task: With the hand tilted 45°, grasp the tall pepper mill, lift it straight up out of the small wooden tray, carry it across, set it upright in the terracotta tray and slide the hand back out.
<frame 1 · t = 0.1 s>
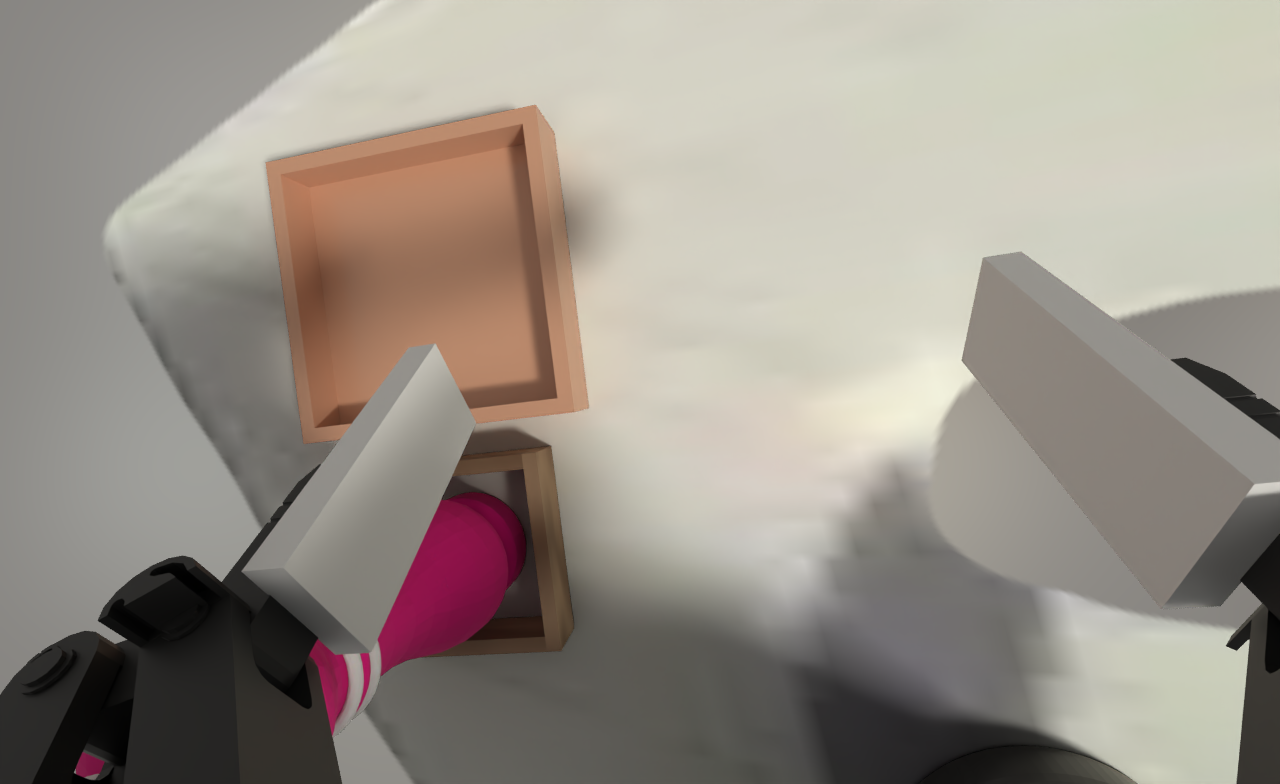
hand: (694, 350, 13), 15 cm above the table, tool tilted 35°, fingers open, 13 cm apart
small wooden tray: (476, 544, 30), on the table
pepper mill: (478, 542, 31), resting in small wooden tray
terracotta tray: (443, 291, 30), on the table
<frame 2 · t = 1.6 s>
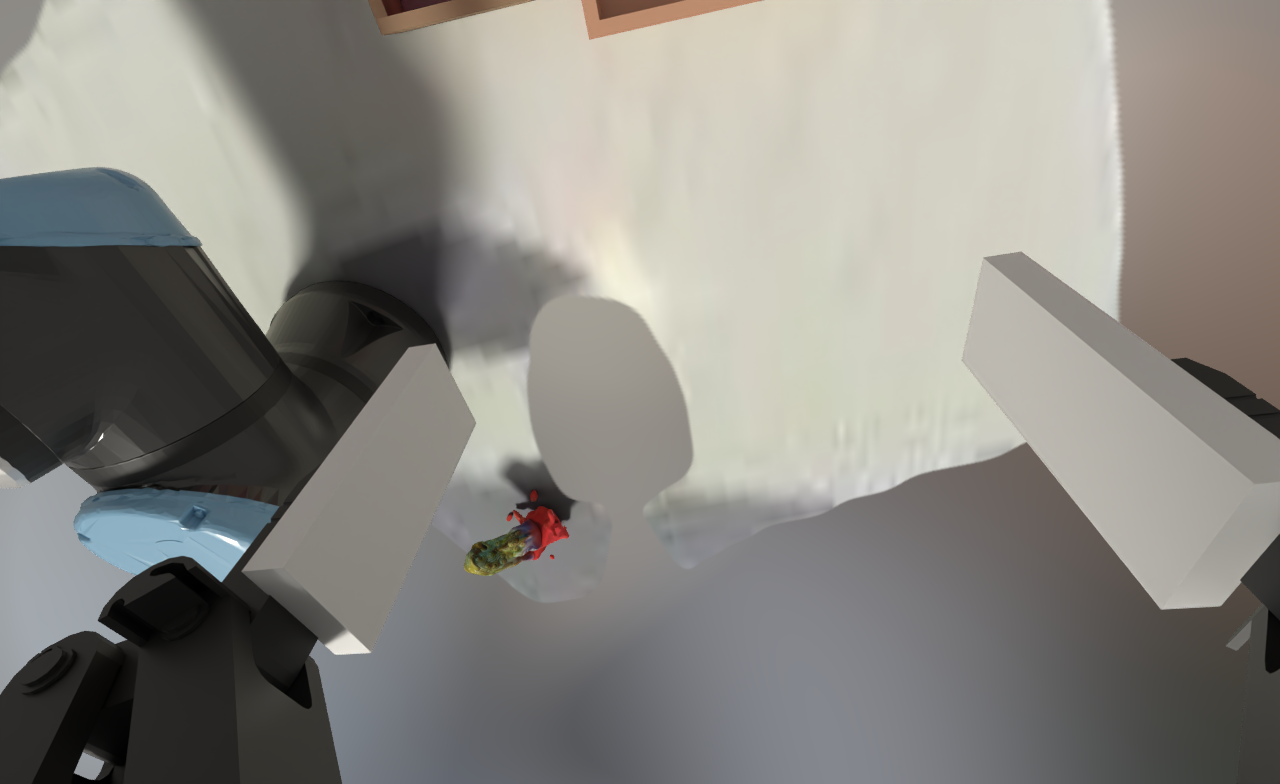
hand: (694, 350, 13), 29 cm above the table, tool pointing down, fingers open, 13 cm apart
figurine: (535, 509, 62), on the table
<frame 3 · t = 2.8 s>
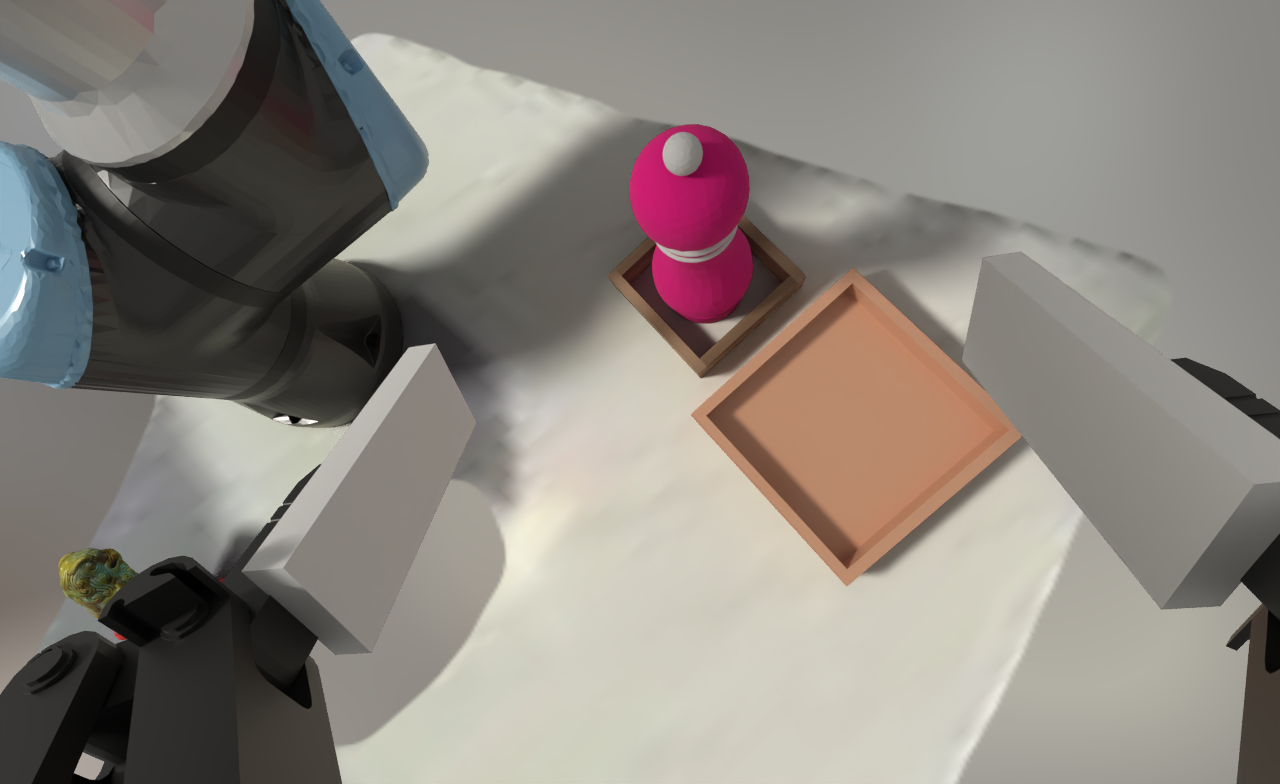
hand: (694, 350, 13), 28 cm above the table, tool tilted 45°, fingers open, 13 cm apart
small wooden tray: (705, 285, 41), on the table
pepper mill: (705, 286, 42), resting in small wooden tray
terracotta tray: (841, 424, 39), on the table
figurine: (200, 594, 47), on the table
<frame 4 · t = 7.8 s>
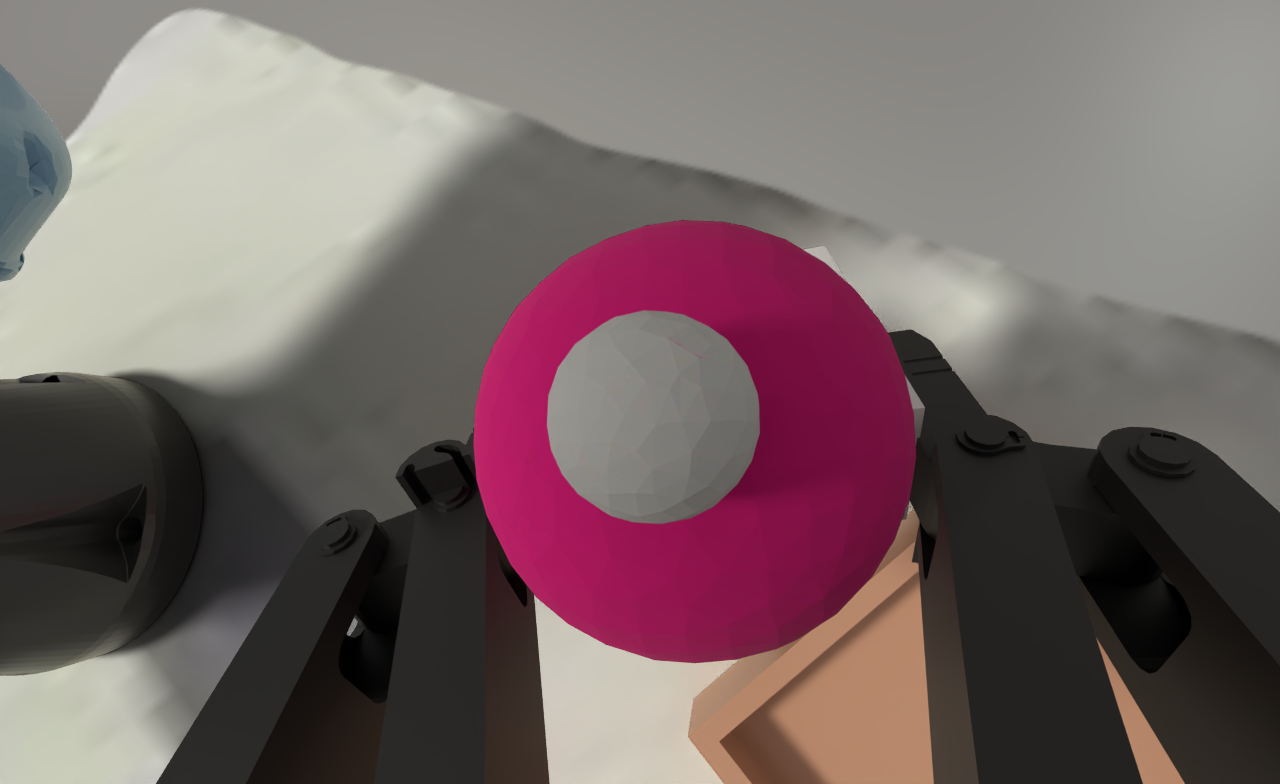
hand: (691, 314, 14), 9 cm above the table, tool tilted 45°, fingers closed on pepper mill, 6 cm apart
pepper mill: (716, 449, 23), resting in small wooden tray, touching gripper
terracotta tray: (978, 741, 20), on the table
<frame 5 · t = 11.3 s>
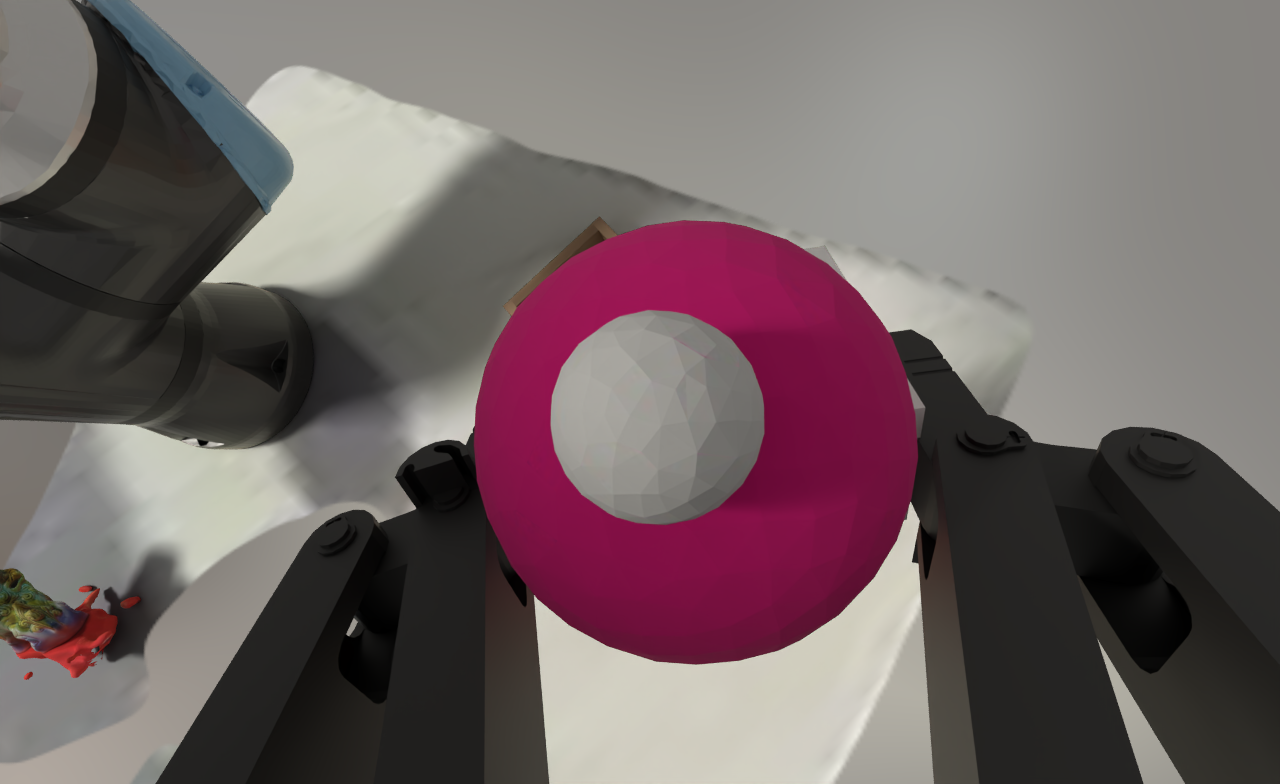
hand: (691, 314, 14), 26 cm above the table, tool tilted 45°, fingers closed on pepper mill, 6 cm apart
small wooden tray: (600, 316, 43), on the table
pepper mill: (714, 450, 23), point 17 cm above the table, touching gripper
figurine: (111, 613, 48), on the table
when the fingers open (11 cm above the table, at t = 15.3 s): pepper mill moves 3 cm, resting on terracotta tray.
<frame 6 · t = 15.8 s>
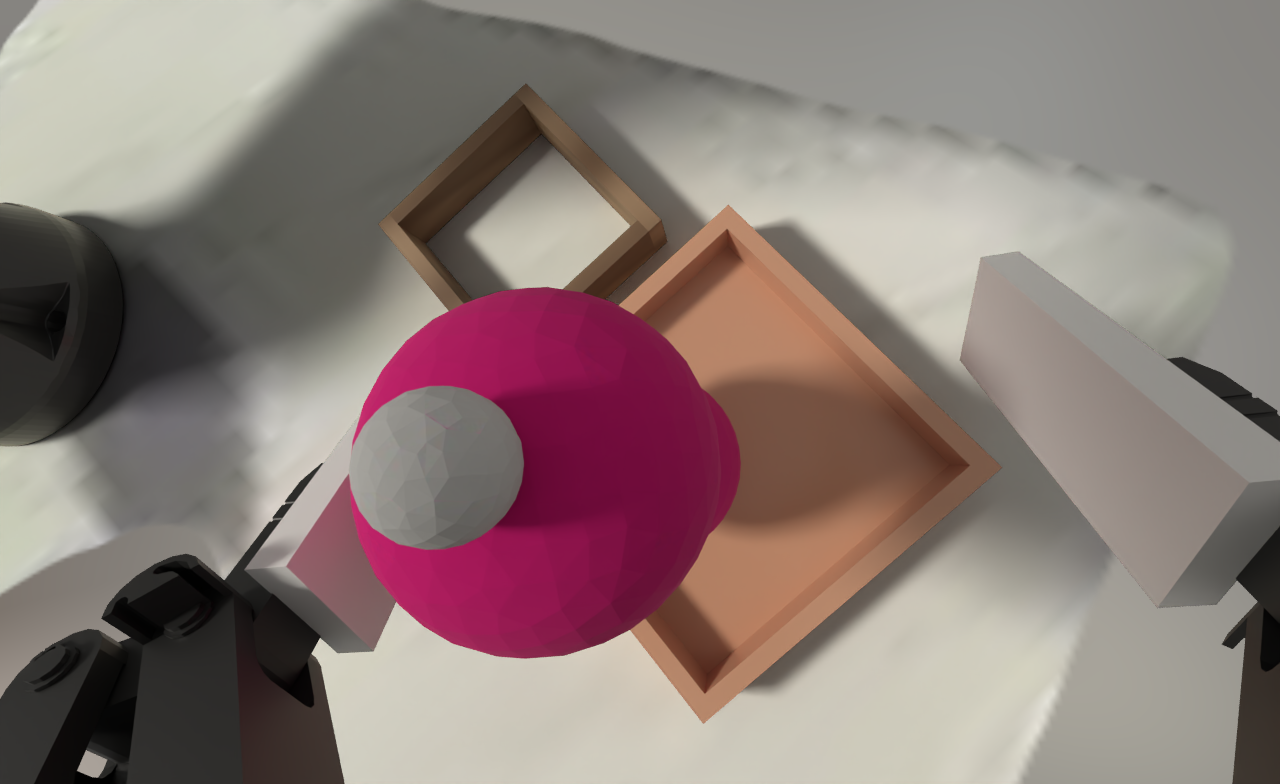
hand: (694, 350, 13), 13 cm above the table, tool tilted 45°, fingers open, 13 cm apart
small wooden tray: (531, 242, 28), on the table
pepper mill: (661, 461, 25), point 1 cm above the table, touching terracotta tray
terracotta tray: (718, 450, 25), on the table
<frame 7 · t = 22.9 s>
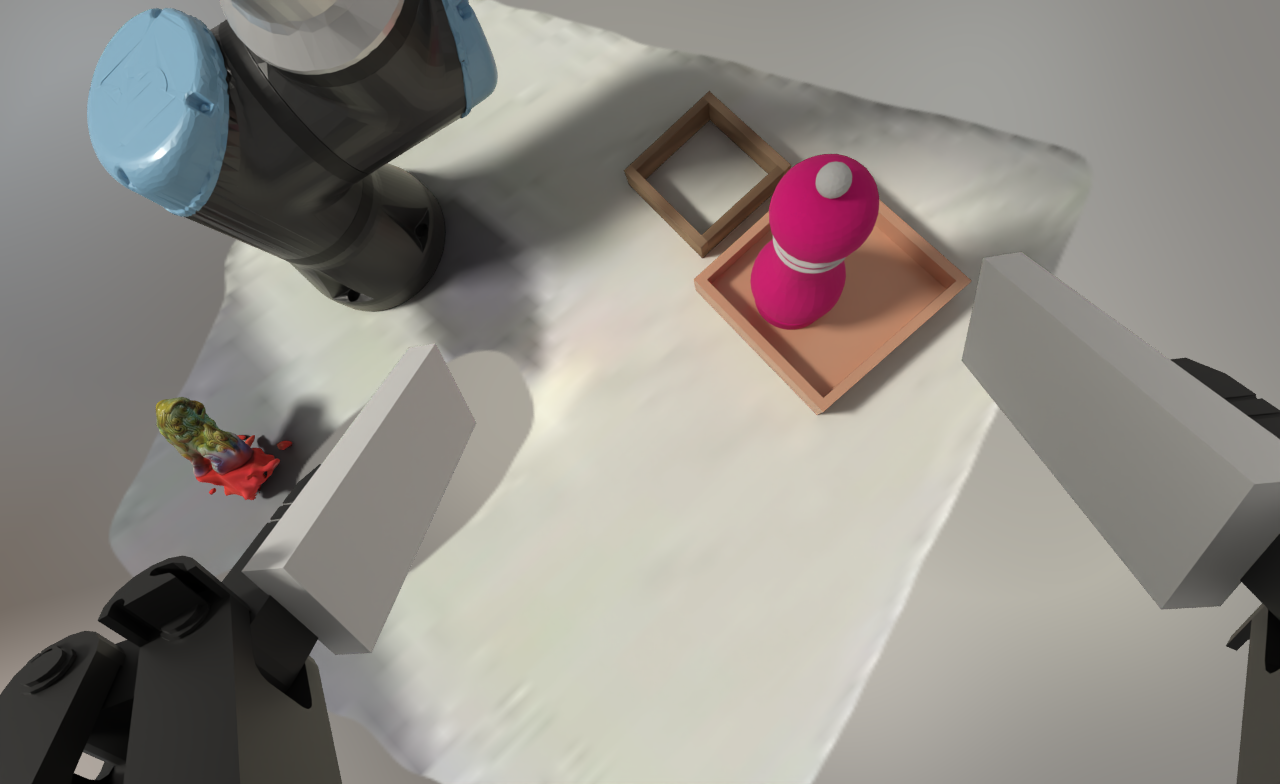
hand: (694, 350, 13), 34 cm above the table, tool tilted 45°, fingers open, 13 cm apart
small wooden tray: (706, 182, 49), on the table
pepper mill: (790, 296, 45), point 1 cm above the table, touching terracotta tray
terracotta tray: (820, 291, 46), on the table
figurine: (264, 458, 54), on the table
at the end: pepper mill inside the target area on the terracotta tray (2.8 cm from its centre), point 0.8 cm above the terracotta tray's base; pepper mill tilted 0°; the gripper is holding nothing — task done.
